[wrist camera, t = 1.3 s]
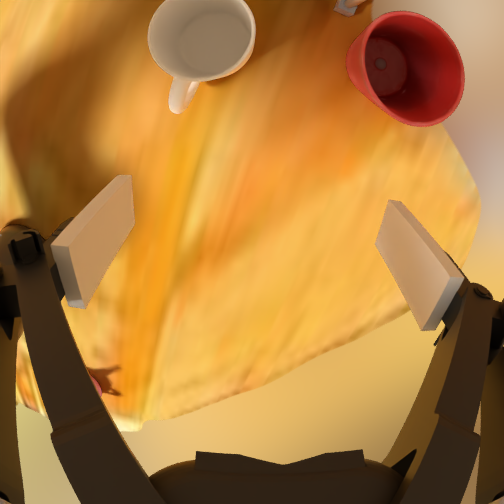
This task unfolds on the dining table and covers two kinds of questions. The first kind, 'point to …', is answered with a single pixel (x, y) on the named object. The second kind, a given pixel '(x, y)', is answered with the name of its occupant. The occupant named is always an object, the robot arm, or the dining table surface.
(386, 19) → the flower pot
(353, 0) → the case
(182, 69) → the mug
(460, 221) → the dining table surface
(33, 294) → the robot arm
